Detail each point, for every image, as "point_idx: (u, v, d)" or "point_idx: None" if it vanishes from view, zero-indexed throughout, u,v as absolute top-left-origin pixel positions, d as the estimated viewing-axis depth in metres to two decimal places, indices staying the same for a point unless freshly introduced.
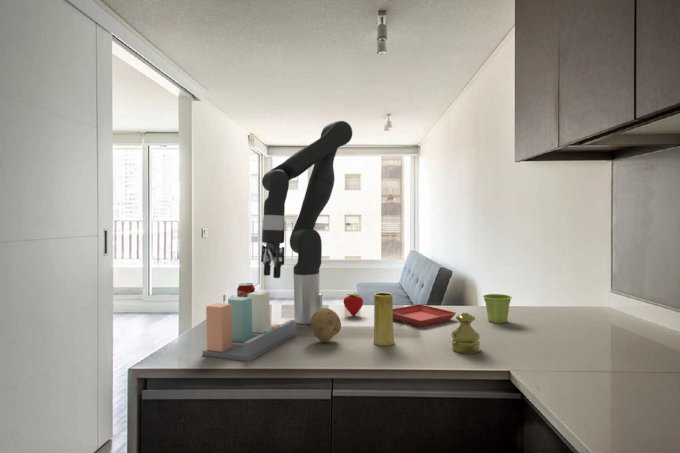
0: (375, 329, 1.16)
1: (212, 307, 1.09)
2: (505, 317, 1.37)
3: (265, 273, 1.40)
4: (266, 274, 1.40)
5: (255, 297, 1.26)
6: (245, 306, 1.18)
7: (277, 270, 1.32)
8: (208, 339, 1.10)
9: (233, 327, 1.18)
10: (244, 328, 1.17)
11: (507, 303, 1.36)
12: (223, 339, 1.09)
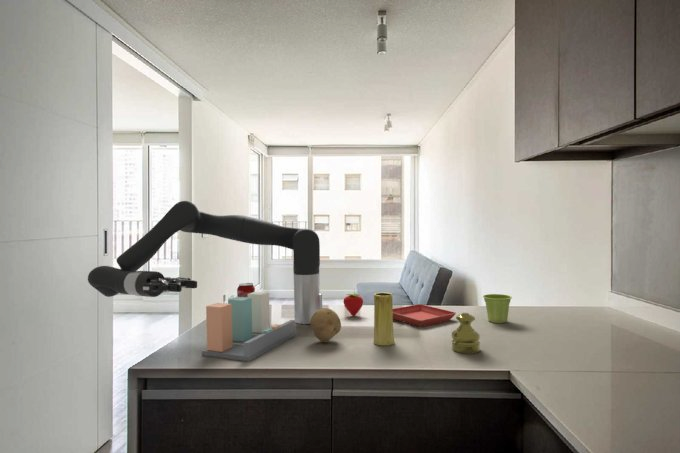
0: (375, 329, 1.16)
1: (212, 307, 1.09)
2: (505, 317, 1.37)
3: (193, 286, 1.17)
4: (194, 285, 1.17)
5: (255, 297, 1.26)
6: (245, 306, 1.18)
7: (170, 289, 1.12)
8: (208, 339, 1.10)
9: (233, 327, 1.18)
10: (244, 328, 1.17)
11: (507, 303, 1.36)
12: (223, 339, 1.09)
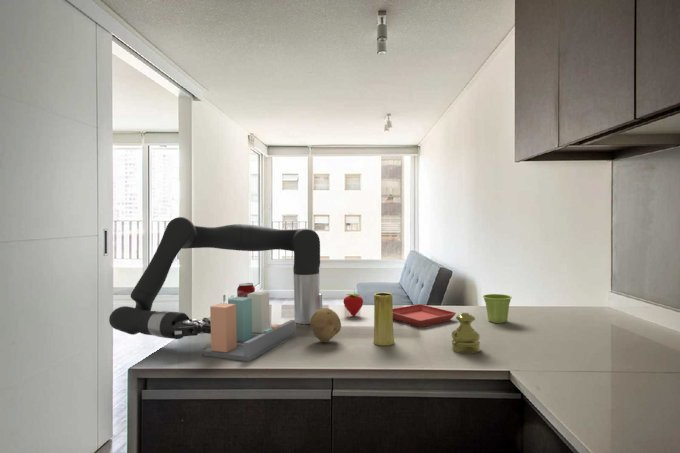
0: (375, 329, 1.16)
1: (216, 307, 1.08)
2: (505, 317, 1.37)
3: None
4: None
5: (255, 297, 1.26)
6: (245, 306, 1.18)
7: (205, 331, 1.11)
8: (212, 339, 1.09)
9: None
10: (244, 328, 1.17)
11: (507, 303, 1.36)
12: (228, 339, 1.08)
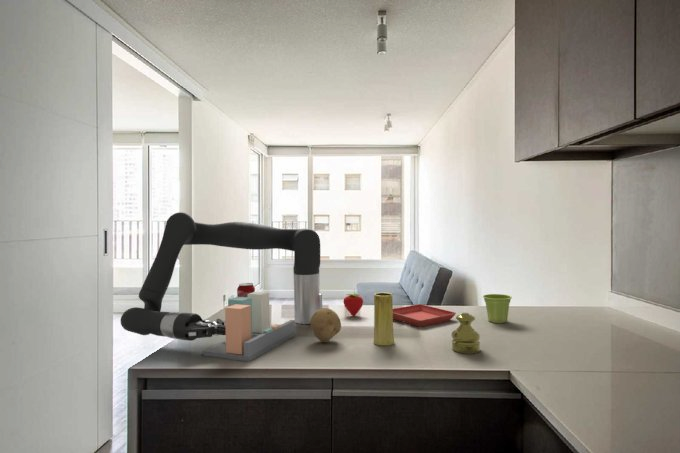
0: (375, 329, 1.16)
1: (231, 309, 1.06)
2: (505, 317, 1.37)
3: None
4: None
5: (255, 297, 1.26)
6: None
7: (220, 332, 1.09)
8: (227, 341, 1.07)
9: None
10: None
11: (507, 303, 1.36)
12: (243, 341, 1.06)
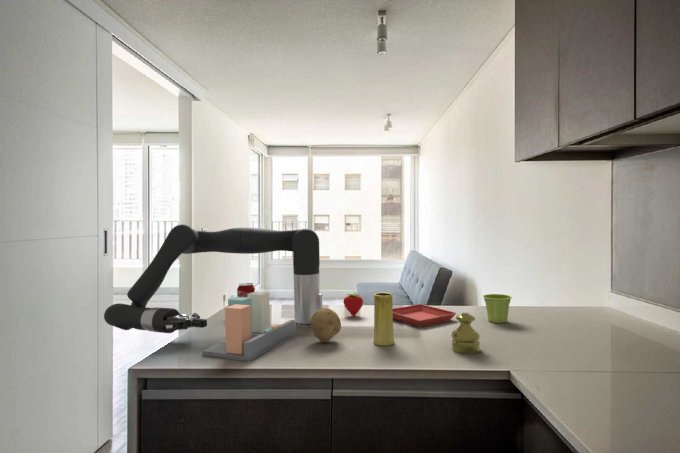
0: (375, 329, 1.16)
1: (231, 309, 1.06)
2: (505, 317, 1.37)
3: None
4: None
5: (255, 297, 1.26)
6: None
7: (195, 325, 1.19)
8: (227, 341, 1.07)
9: None
10: None
11: (507, 303, 1.36)
12: (243, 341, 1.06)
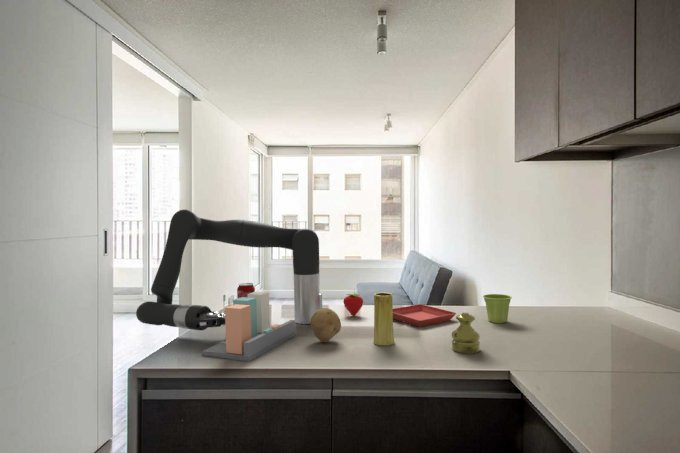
0: (375, 329, 1.16)
1: (231, 309, 1.06)
2: (505, 317, 1.37)
3: None
4: None
5: (255, 297, 1.26)
6: None
7: None
8: (227, 341, 1.07)
9: None
10: None
11: (507, 303, 1.36)
12: (243, 341, 1.06)
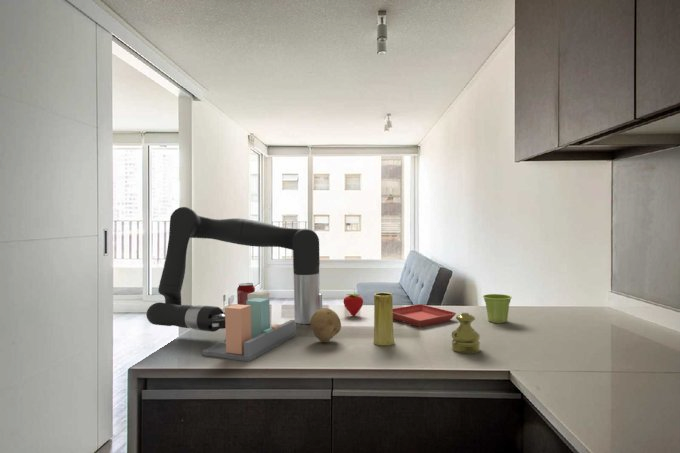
0: (375, 329, 1.16)
1: (231, 309, 1.06)
2: (505, 317, 1.37)
3: None
4: None
5: (255, 297, 1.26)
6: (263, 307, 1.16)
7: None
8: (227, 341, 1.07)
9: (251, 329, 1.16)
10: (263, 330, 1.15)
11: (507, 303, 1.36)
12: (243, 341, 1.06)
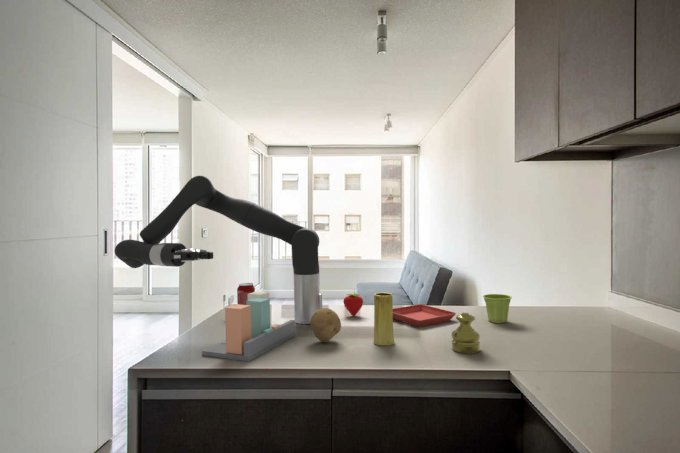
0: (375, 329, 1.16)
1: (231, 309, 1.06)
2: (505, 317, 1.37)
3: None
4: None
5: (255, 297, 1.26)
6: (264, 307, 1.16)
7: (202, 256, 1.23)
8: (227, 341, 1.07)
9: (251, 329, 1.16)
10: (263, 330, 1.15)
11: (507, 303, 1.36)
12: (243, 341, 1.06)
